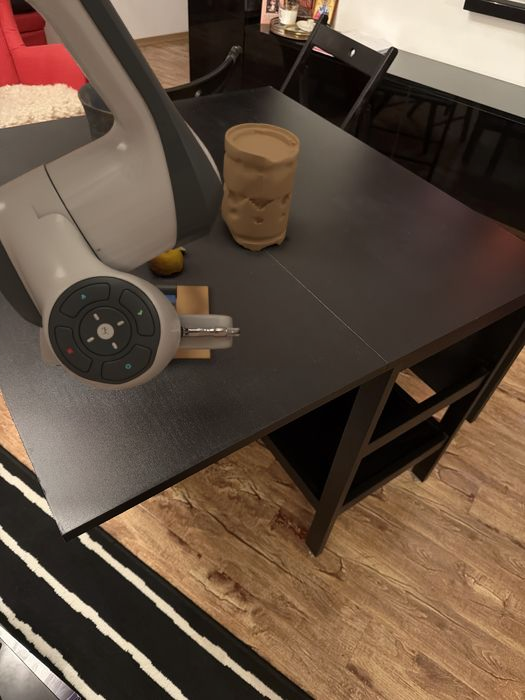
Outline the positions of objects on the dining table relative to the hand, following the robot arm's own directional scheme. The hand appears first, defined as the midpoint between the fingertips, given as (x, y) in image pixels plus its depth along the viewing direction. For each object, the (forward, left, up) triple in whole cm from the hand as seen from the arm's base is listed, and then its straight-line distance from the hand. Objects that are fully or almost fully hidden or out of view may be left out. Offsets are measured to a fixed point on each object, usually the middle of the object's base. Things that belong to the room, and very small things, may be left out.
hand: (148, 331), depth 60 cm
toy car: (0, +2, -3) cm, 3 cm away
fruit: (+1, +26, -9) cm, 27 cm away
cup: (-8, +59, -9) cm, 60 cm away
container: (+17, +36, -9) cm, 41 cm away
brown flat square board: (0, +11, -8) cm, 14 cm away
